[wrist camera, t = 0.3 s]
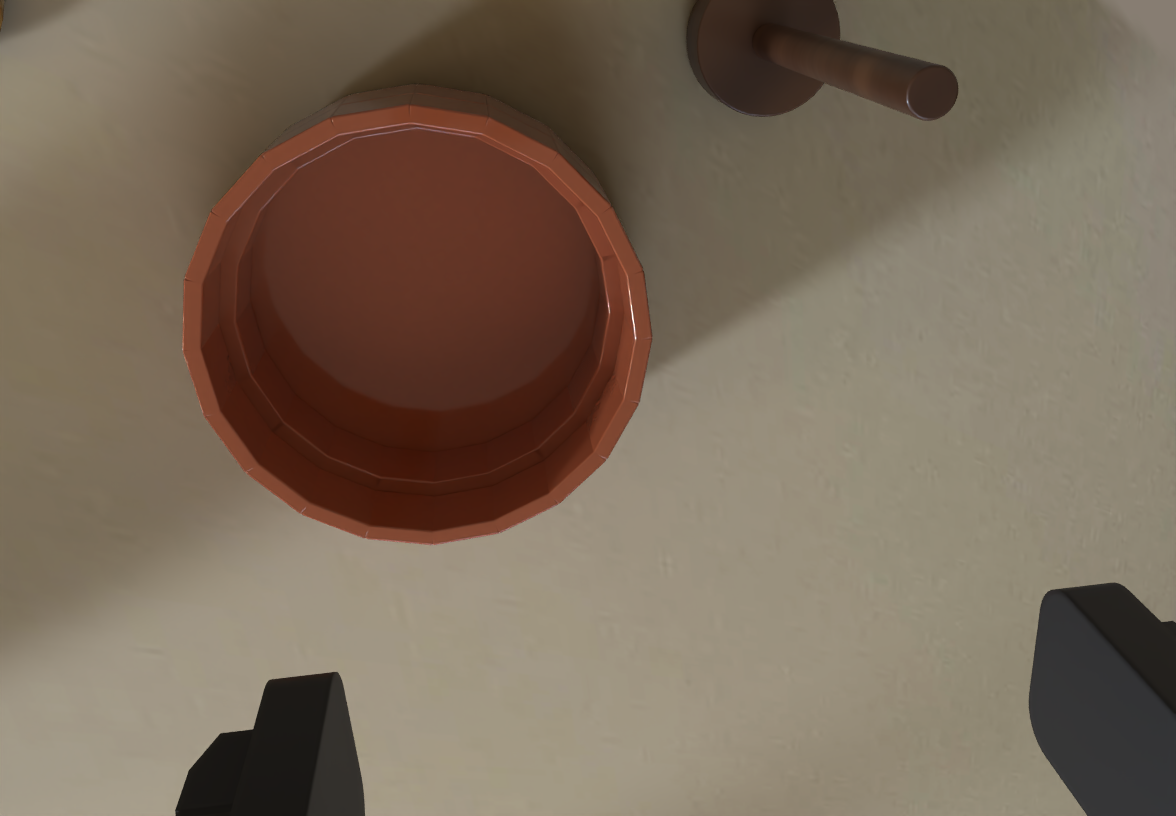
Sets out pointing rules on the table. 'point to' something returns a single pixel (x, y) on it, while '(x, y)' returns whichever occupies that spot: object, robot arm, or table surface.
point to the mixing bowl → (417, 317)
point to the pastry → (1, 12)
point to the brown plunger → (802, 60)
